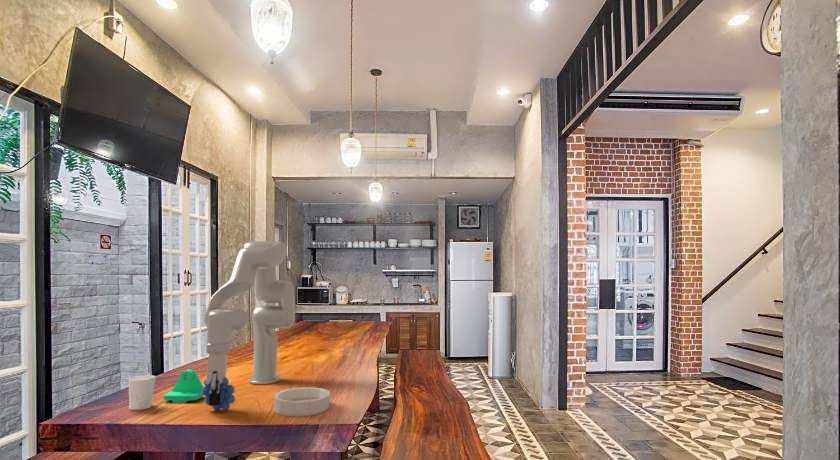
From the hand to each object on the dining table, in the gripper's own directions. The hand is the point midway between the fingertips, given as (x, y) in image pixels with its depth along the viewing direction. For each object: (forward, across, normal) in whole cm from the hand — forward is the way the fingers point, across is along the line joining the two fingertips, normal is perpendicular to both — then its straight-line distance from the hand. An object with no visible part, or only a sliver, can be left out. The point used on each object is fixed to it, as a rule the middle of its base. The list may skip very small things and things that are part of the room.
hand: (216, 401), depth 160 cm
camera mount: (+4, -17, -14) cm, 22 cm away
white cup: (+3, -10, -26) cm, 28 cm away
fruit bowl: (+3, +2, +28) cm, 28 cm away
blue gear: (+3, 0, 0) cm, 3 cm away
